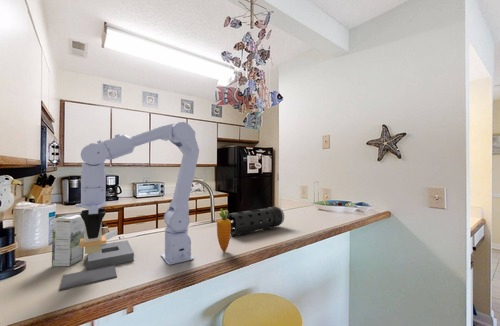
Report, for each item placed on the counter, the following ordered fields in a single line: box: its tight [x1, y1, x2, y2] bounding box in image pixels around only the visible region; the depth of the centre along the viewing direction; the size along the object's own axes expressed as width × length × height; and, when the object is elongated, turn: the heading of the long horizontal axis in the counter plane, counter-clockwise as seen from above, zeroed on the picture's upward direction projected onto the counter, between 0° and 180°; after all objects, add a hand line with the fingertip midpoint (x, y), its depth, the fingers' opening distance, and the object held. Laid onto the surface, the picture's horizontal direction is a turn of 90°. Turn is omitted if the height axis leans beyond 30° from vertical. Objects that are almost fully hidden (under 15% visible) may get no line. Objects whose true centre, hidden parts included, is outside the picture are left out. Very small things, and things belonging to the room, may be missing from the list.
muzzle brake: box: [226, 206, 285, 237], centre depth 108 cm, size 10×28×10 cm, turn 126°
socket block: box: [87, 239, 135, 270], centre depth 77 cm, size 16×12×2 cm
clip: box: [102, 229, 118, 241], centre depth 84 cm, size 2×15×3 cm, turn 1°
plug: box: [79, 221, 107, 255], centre depth 65 cm, size 6×6×8 cm
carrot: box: [216, 208, 232, 253], centre depth 81 cm, size 5×5×15 cm
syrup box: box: [51, 214, 85, 267], centre depth 73 cm, size 6×6×14 cm
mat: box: [59, 265, 118, 291], centre depth 63 cm, size 9×12×1 cm
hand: (93, 236), depth 65 cm, fingers closed on plug, 4 cm apart
